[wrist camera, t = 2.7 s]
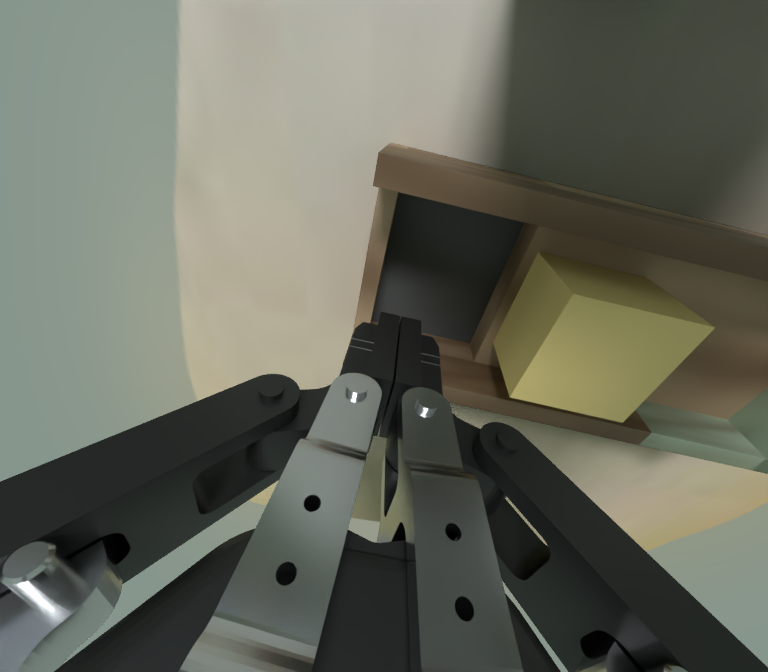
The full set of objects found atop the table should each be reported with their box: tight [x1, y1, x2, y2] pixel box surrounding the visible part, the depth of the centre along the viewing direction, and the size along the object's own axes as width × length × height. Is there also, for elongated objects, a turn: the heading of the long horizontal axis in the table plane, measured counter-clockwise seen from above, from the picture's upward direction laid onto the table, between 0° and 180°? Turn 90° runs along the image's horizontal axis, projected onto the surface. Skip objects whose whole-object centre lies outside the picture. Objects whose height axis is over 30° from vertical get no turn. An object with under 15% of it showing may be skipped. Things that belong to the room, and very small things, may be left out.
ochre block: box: [493, 252, 715, 423], centre depth 14 cm, size 5×5×4 cm
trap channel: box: [343, 143, 768, 474], centre depth 15 cm, size 10×23×6 cm, turn 78°
